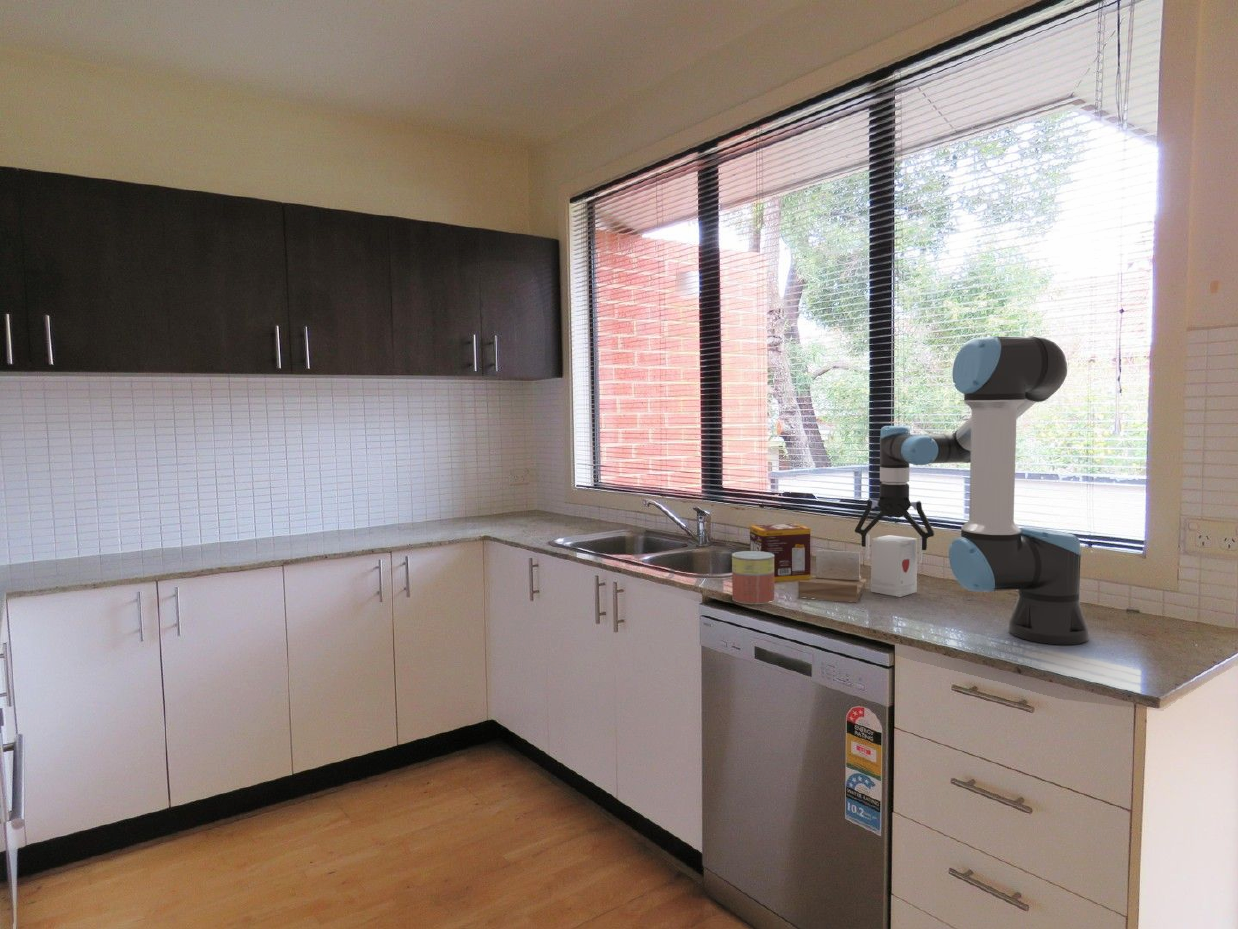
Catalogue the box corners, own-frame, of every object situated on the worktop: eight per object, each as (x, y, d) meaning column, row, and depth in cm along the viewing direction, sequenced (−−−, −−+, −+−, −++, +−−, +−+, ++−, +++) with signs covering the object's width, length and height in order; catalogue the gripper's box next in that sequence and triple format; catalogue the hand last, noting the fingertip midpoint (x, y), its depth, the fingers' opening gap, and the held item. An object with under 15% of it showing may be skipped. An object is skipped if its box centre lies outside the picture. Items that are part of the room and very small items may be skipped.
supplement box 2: (900, 598, 201) (900, 542, 200) (870, 592, 208) (870, 538, 207) (918, 592, 207) (918, 537, 206) (888, 587, 214) (888, 534, 213)
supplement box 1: (749, 575, 232) (749, 525, 231) (796, 572, 235) (796, 522, 233) (761, 583, 222) (761, 530, 221) (811, 580, 224) (811, 527, 223)
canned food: (753, 592, 211) (753, 549, 210) (783, 599, 202) (783, 555, 201) (723, 598, 204) (722, 554, 204) (753, 606, 195) (752, 560, 194)
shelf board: (856, 602, 197) (856, 585, 197) (798, 597, 203) (798, 581, 203) (866, 584, 217) (866, 569, 217) (813, 580, 223) (812, 565, 223)
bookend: (859, 580, 214) (859, 552, 214) (816, 577, 219) (816, 550, 219) (861, 578, 218) (861, 550, 217) (818, 575, 223) (818, 548, 222)
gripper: (944, 482, 203) (943, 560, 205) (848, 480, 214) (848, 554, 215) (944, 485, 197) (942, 566, 198) (844, 483, 207) (844, 559, 209)
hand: (893, 560), depth 207 cm, fingers open, 13 cm apart
